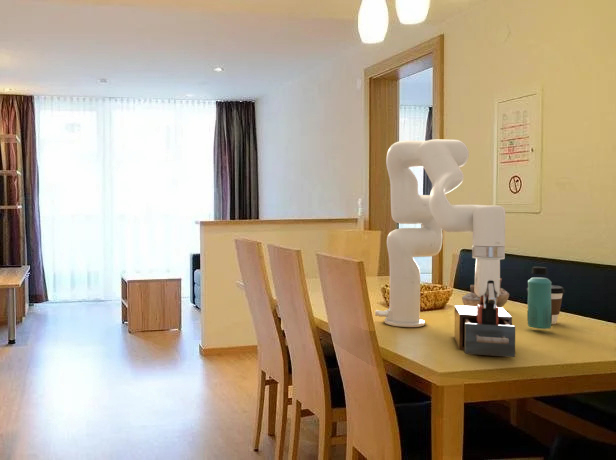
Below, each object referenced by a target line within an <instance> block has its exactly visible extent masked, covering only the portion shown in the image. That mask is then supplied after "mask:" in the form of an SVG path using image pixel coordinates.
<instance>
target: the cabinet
mask: <svg viewBox="0 0 616 460" xmlns="http://www.w3.org/2000/svg"><path fill="white" fill-rule="evenodd" d="M498 308H499V307H498ZM463 317H465V318H477V306H464V305H454V329H453V330H454V332H453V333H454V334H453V335H454V336H453V337H454V340H455V342H456V343H455V344H456V345H457V347H458V350H461V351H463V350H464V351H465V345H464V343H463ZM498 319H504V320H506V321H507V322H508V323H509V324H510V325H513V317H512V316H511V314H510V313H509V312H507V310H505V308H504V307H502V308H499V315H498Z"/></svg>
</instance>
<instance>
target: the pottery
mask: <svg viewBox="0 0 616 460" xmlns="http://www.w3.org/2000/svg"><path fill="white" fill-rule="evenodd" d="M502 280H503V279H502V278H501V277H500V286H501V284H502ZM474 285H475V284H470V286H469V287H470V289H469V290H470V292H468V293H466V294H464V295H463V296H462V297H461V301H462V304H463V306H477V304H480V297H478V296H477V295H476V294H475V292H474ZM509 297H510V293H509V292H508V291H506V290H505V289H504V288H502V287H500V291H499V297H497V298H496V306H497V307H499V308H503V307H504V306H505V305H506V304H507V302H508V300H509Z"/></svg>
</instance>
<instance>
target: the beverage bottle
mask: <svg viewBox="0 0 616 460" xmlns="http://www.w3.org/2000/svg"><path fill="white" fill-rule="evenodd" d="M531 274H532V275H548V268H547V267H546V266H545V267H544V266H533V267H532V268H531ZM551 285H552V281H551V280H550V279H549V278H547V277H538V276H537V277H535V276H534V277H531V278H530V279H528V280H527V288H528V291H527V302H526V303H527V308H526V309H527V311H526V312H527V316H526V317H527V320H526V322H527V326H528V327H529V328H533V329H540V330H541V329H542V330H547V329H549V330H550V329H551V328H552V325H553V324H551V323H552V313H551V310H552V309H551V307H552V304H551Z"/></svg>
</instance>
